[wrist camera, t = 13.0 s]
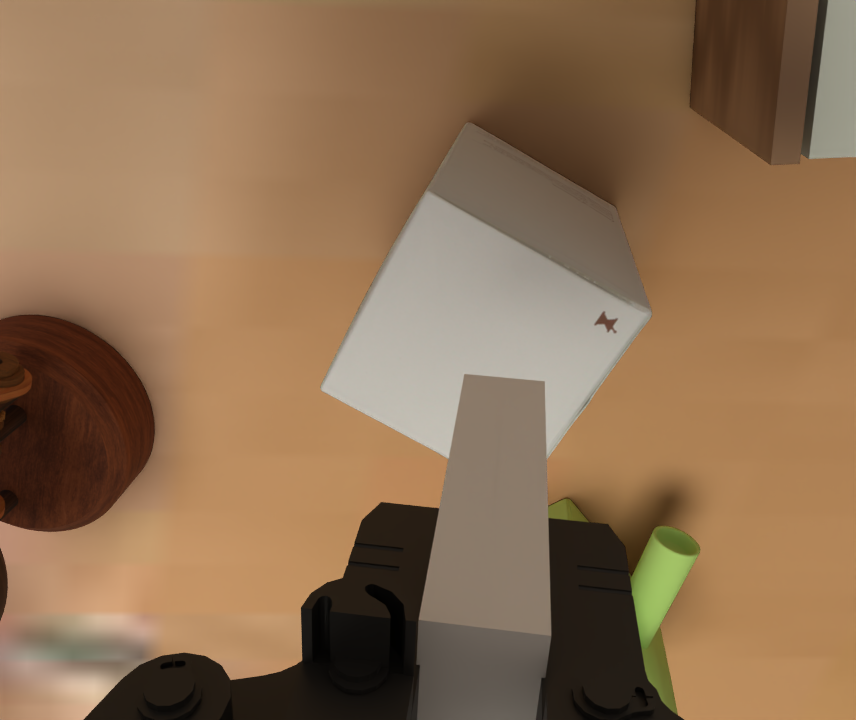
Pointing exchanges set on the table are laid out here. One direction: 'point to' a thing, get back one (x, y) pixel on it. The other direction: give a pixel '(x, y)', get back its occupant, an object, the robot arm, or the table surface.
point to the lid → (832, 84)
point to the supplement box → (492, 296)
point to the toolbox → (755, 72)
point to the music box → (65, 426)
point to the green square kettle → (652, 591)
